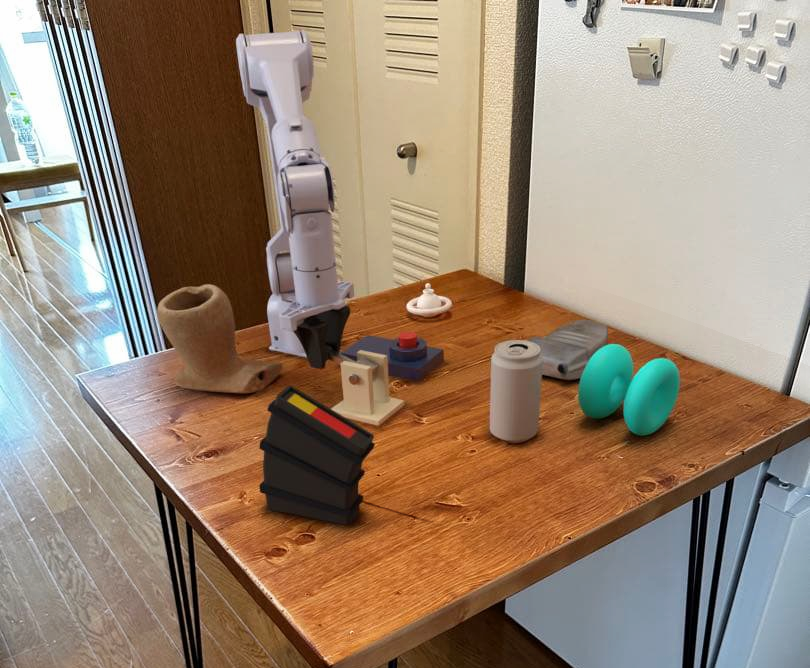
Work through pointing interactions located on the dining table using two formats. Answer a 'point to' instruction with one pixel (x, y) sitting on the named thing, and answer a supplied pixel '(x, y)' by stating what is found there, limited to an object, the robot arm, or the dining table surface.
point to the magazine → (312, 459)
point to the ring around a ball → (429, 304)
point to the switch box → (367, 391)
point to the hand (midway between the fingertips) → (324, 362)
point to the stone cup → (210, 343)
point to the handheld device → (570, 348)
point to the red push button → (407, 340)
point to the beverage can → (515, 390)
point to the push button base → (400, 356)
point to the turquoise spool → (629, 389)
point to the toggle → (349, 360)
